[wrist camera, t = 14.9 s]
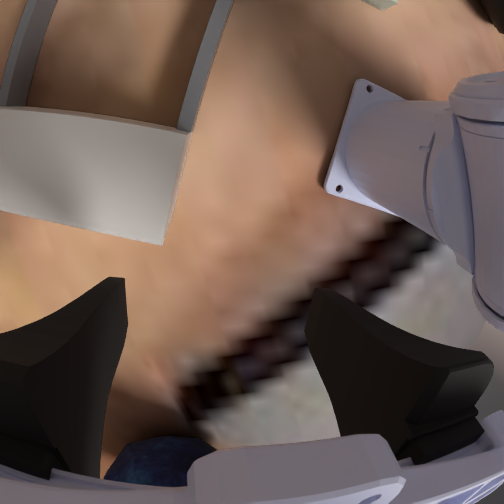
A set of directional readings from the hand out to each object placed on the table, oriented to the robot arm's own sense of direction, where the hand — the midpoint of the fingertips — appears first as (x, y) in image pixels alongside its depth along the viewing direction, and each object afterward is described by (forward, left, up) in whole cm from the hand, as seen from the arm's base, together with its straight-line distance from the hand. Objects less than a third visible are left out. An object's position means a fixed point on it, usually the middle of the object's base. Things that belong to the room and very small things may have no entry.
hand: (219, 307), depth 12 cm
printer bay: (+9, -9, -9) cm, 16 cm away
